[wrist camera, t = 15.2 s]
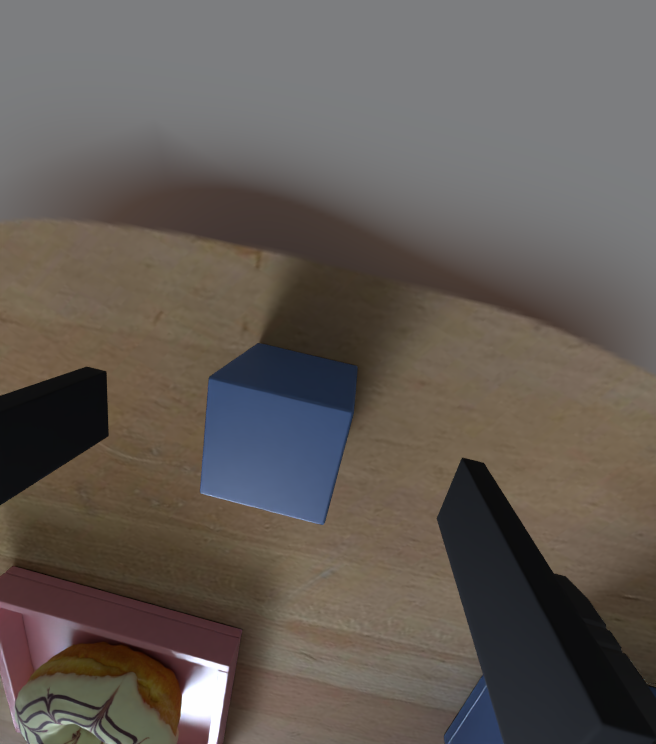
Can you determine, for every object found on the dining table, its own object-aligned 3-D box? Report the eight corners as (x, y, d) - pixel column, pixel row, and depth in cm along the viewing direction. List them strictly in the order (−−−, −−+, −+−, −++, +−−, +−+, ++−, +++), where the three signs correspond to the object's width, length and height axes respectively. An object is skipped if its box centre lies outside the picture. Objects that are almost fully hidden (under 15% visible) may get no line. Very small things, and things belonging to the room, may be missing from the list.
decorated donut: (214, 718, 23) (187, 799, 20) (102, 720, 25) (59, 794, 22) (151, 624, 20) (105, 700, 17) (30, 636, 22) (-33, 706, 19)
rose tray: (12, 565, 21) (-22, 594, 19) (242, 629, 20) (229, 666, 18) (40, 699, 26) (15, 731, 25) (221, 753, 26) (210, 791, 24)
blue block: (257, 342, 14) (207, 376, 9) (358, 365, 13) (354, 411, 9) (246, 429, 15) (198, 494, 11) (336, 452, 15) (324, 526, 11)
